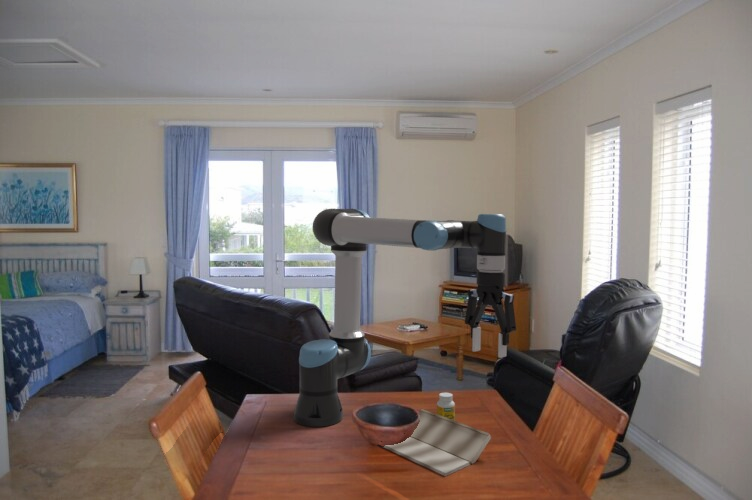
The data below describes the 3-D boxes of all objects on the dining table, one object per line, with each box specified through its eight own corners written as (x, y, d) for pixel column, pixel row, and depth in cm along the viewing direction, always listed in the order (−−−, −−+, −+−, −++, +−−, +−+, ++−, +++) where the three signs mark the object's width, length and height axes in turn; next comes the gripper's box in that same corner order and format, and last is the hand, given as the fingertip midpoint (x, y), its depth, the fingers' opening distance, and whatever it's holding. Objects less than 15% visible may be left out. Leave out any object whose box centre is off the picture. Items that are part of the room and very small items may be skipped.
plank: (405, 436, 156) (403, 432, 156) (423, 412, 161) (421, 408, 160) (473, 465, 139) (470, 460, 138) (491, 437, 143) (488, 432, 142)
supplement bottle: (447, 421, 168) (448, 390, 168) (458, 427, 164) (458, 395, 163) (433, 424, 166) (433, 393, 165) (443, 430, 161) (443, 398, 161)
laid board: (377, 447, 149) (378, 441, 149) (403, 437, 156) (403, 432, 156) (445, 479, 131) (445, 473, 131) (471, 466, 138) (471, 461, 138)
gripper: (452, 268, 154) (450, 348, 156) (515, 275, 139) (513, 363, 140) (469, 267, 159) (467, 344, 161) (532, 273, 144) (529, 358, 145)
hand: (489, 353), depth 151 cm, fingers open, 8 cm apart
